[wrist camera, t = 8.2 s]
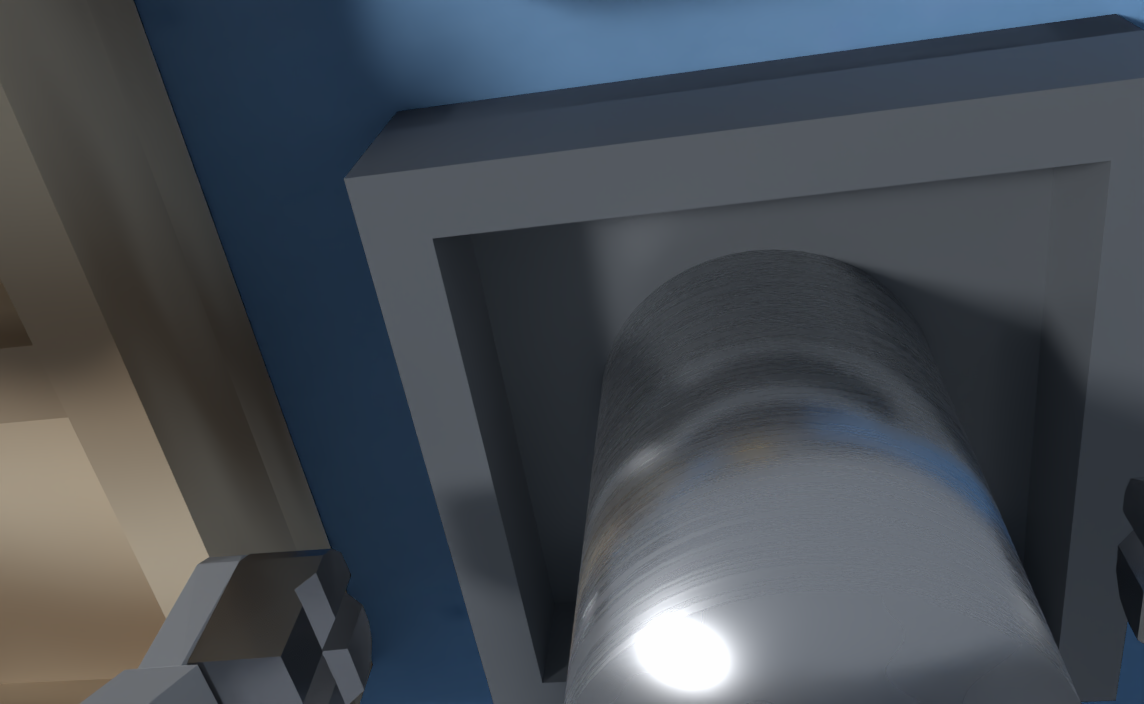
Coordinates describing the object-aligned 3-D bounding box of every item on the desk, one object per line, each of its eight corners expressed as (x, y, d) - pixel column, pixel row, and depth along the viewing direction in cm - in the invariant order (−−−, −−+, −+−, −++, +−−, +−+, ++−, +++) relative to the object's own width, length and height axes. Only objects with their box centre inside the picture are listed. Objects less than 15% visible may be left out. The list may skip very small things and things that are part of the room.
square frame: (1058, 577, 16) (1115, 700, 14) (520, 606, 17) (499, 722, 15) (1116, 13, 12) (1211, 69, 9) (397, 111, 13) (343, 179, 11)
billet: (931, 514, 14) (1072, 936, 9) (624, 533, 15) (597, 937, 10) (937, 230, 12) (1125, 574, 7) (579, 268, 13) (514, 608, 8)
